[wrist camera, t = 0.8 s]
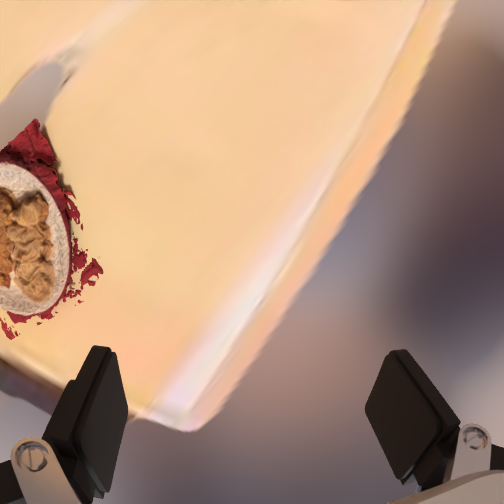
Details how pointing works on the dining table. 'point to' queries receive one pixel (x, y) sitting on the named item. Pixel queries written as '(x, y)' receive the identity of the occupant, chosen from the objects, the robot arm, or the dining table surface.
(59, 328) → the dining table surface
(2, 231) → the plate with food
